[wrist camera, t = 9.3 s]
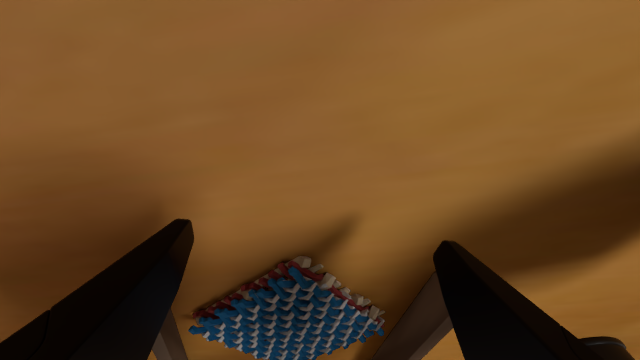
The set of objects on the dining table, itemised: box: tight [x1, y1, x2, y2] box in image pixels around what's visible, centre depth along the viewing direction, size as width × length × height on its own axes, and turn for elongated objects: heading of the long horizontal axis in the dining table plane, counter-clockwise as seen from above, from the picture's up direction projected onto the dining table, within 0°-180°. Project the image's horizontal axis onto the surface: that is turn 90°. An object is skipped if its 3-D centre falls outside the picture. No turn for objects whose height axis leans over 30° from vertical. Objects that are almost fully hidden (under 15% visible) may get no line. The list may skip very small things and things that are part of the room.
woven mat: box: [188, 256, 385, 360], centre depth 18 cm, size 10×11×2 cm
